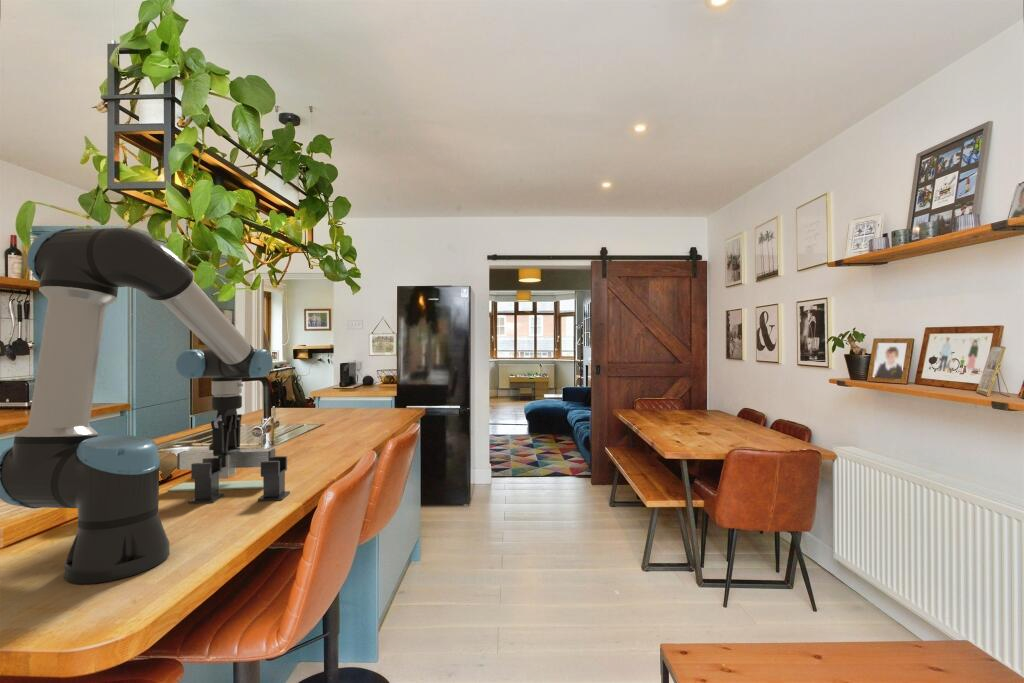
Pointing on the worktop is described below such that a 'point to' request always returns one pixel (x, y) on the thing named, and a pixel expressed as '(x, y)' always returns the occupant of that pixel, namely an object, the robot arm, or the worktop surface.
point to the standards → (211, 467)
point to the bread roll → (167, 464)
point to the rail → (236, 457)
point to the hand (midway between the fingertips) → (227, 476)
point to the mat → (222, 485)
